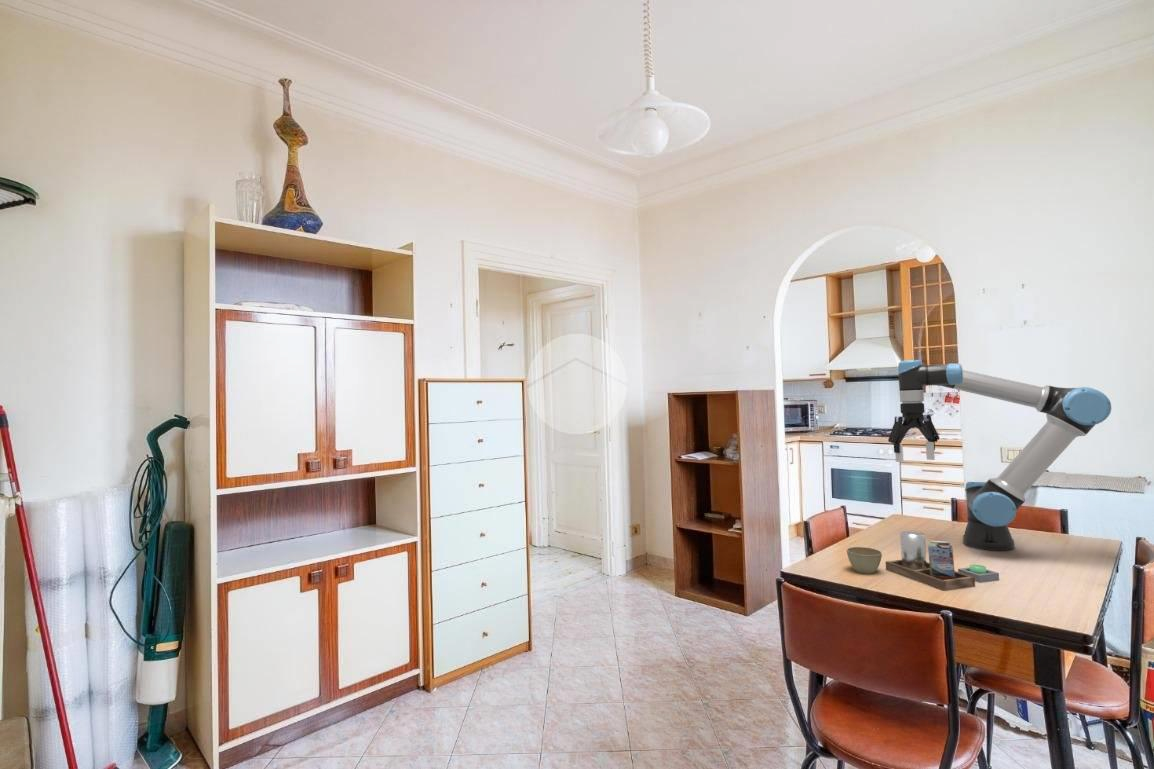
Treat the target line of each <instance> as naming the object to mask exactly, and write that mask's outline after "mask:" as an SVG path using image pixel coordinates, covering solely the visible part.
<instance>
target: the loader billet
mask: <svg viewBox="0 0 1154 769" xmlns="http://www.w3.org/2000/svg"><path fill="white" fill-rule="evenodd" d="M925 534H926V533H923V532H921V531H913V530H903V531H900V534H899V536H900V556H901V560H902V566H903V567H906V568H909V569H912V570H919V569H927V563H926V562H927V546H926V535H925Z"/></svg>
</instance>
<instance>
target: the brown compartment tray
mask: <svg viewBox="0 0 1154 769" xmlns="http://www.w3.org/2000/svg"><path fill="white" fill-rule="evenodd" d="M926 563H927V569H919V570H912V569H909V568H906V567H903V566H902V559H894V560H886V561H885V570H886V571H889V572H890V573H891V572H892V573H894V574H897V575H900V576H903V577H905V578H908V579H910V580H913V581H916V582H917V583H918V582H919V583H922V584H924V585H927V586H929V587H931V588H935V589H938V590H940V591H943V592H946V591H950V590H951V591H952V590H960V589H966V588H973V587H976V581H975V577H972V576H969V575H966V574H963V573H959V572H958V571H956V570H955V579H948V580H941V579H938V578H935V577H932V576H931V575H930V563H929V562H928V561H926Z"/></svg>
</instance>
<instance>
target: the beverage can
mask: <svg viewBox="0 0 1154 769" xmlns="http://www.w3.org/2000/svg"><path fill="white" fill-rule="evenodd" d="M927 550H928V558H929V559H928V561H929V562H928V563H930V575H931V576H932V577H935V578H938V579H941V580H948V579H955V571H956V570H955V563H954V562H955V560H954V550H953V545H951V543H950V541H945V540H929V543H928V544H927Z"/></svg>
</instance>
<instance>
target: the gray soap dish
mask: <svg viewBox="0 0 1154 769" xmlns="http://www.w3.org/2000/svg"><path fill="white" fill-rule="evenodd" d="M957 572H959V573H963V574H966V575H969V576H972V577H975V583H976V582H977V583H987V582H989V583H990V582H995V581H999V580H1000V573H999V572H997V571H994V570H990V569H987V568H986V573H983V574H977V573H974V572H971V571H970V566H969V567H962V568H960V567H959V568H957Z"/></svg>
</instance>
